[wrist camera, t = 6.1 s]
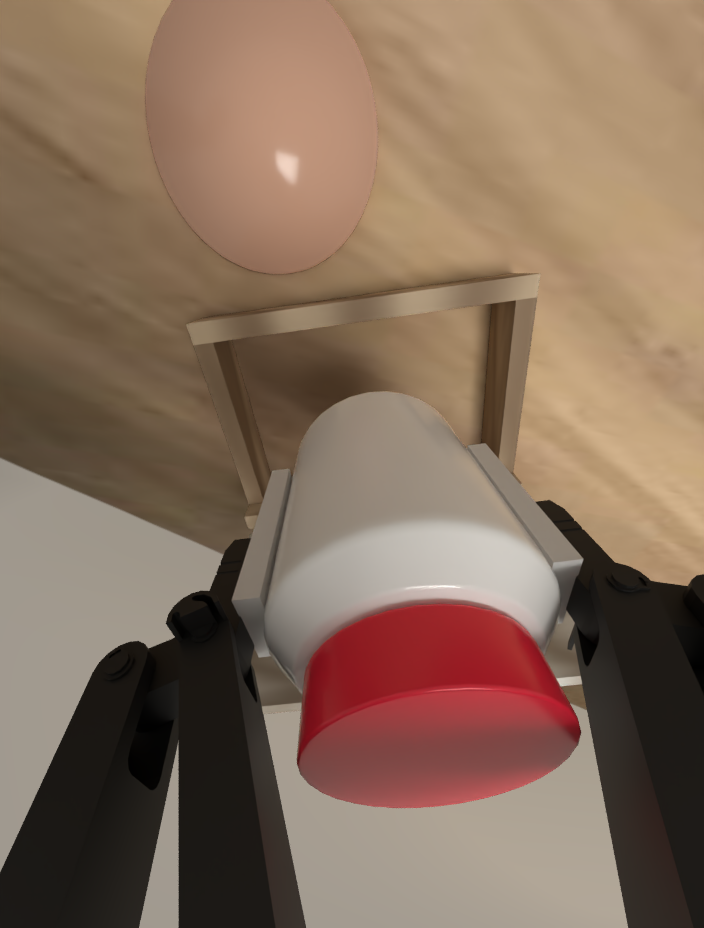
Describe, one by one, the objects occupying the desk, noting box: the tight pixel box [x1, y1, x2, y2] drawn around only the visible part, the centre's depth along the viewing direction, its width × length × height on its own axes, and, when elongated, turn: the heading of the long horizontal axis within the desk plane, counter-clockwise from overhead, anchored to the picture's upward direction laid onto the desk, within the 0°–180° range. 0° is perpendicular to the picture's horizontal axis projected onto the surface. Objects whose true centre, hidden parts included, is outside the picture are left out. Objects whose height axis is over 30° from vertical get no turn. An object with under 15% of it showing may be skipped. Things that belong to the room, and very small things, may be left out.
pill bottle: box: [264, 391, 581, 808], centre depth 11 cm, size 8×8×11 cm
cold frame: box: [186, 273, 582, 714], centre depth 19 cm, size 20×16×17 cm
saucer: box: [145, 0, 378, 274], centre depth 18 cm, size 12×12×1 cm
